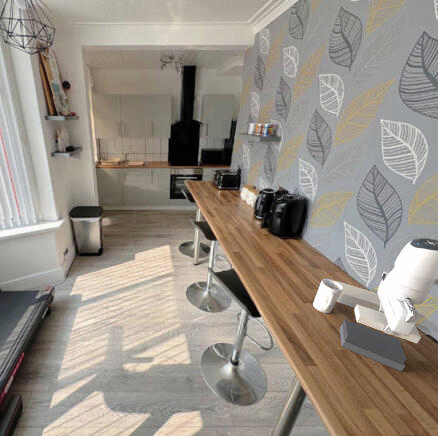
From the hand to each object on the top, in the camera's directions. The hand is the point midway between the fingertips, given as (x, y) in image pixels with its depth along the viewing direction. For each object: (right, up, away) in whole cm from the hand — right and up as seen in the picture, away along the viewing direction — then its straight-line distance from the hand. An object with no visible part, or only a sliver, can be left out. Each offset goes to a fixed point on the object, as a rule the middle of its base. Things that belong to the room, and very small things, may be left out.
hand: (383, 323), depth 75 cm
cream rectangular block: (0, -1, 0) cm, 1 cm away
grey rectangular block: (-1, -11, +5) cm, 12 cm away
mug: (-5, -4, +20) cm, 21 cm away
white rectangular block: (+13, -2, +26) cm, 29 cm away
